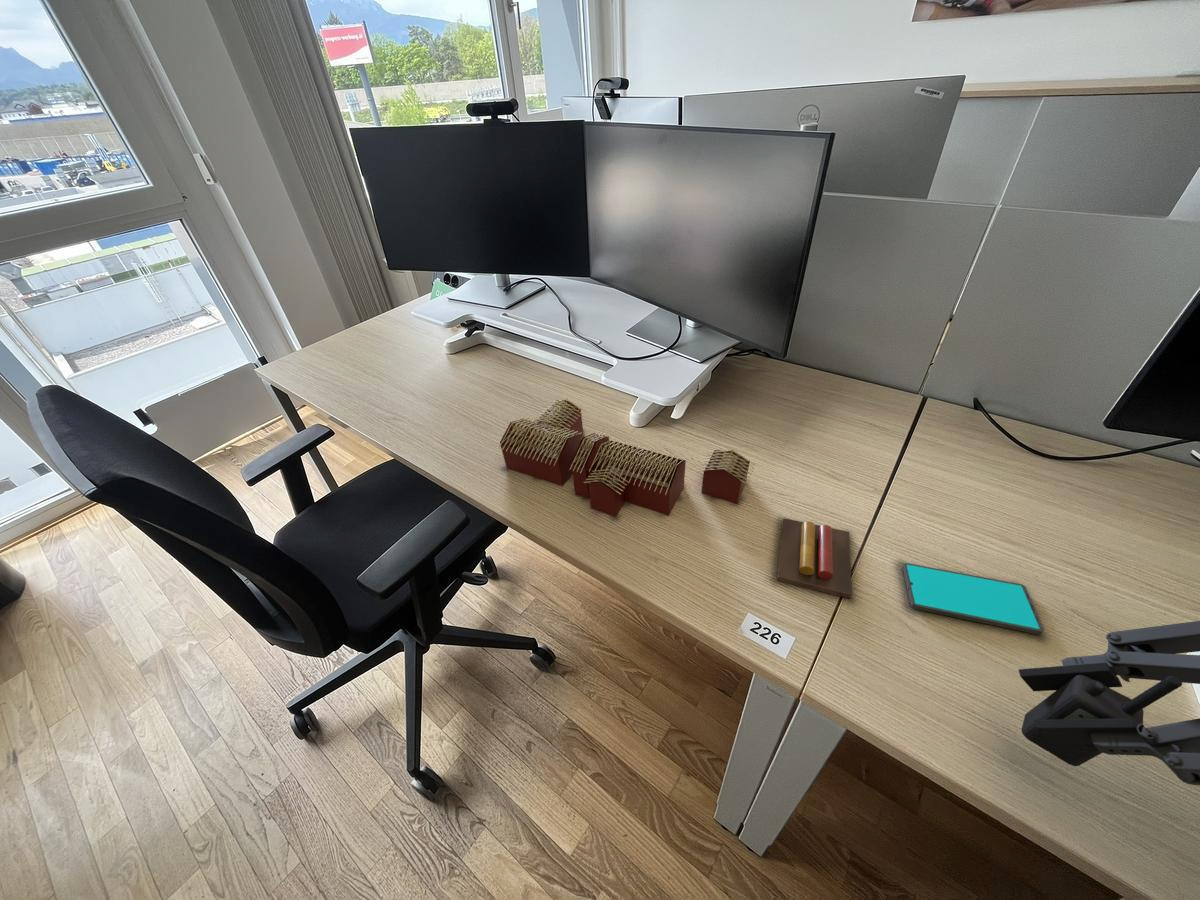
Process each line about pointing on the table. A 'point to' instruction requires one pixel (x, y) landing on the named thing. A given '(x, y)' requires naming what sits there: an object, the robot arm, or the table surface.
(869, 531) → the table surface
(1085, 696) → the walkie-talkie
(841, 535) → the rod rack
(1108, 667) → the robot arm
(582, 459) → the toy houses
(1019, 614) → the smartphone
